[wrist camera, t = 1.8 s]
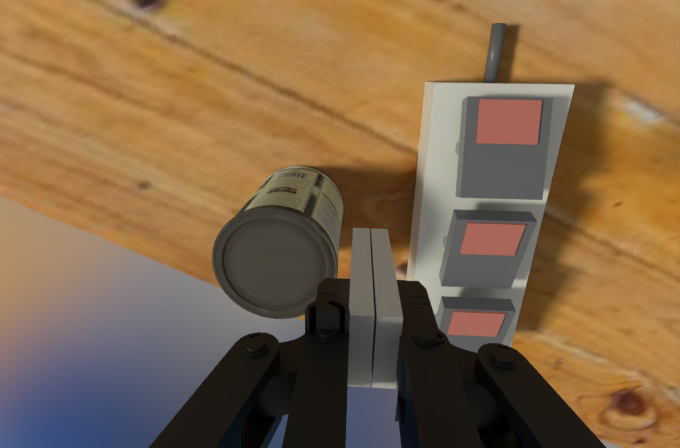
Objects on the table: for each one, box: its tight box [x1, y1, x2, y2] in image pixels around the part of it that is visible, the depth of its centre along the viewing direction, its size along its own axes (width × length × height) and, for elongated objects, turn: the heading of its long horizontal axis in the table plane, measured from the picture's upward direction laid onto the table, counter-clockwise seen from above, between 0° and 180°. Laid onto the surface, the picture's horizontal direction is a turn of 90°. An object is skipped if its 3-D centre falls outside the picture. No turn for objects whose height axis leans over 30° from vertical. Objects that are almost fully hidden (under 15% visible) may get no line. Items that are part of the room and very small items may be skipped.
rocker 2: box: [439, 209, 537, 289], centre depth 35 cm, size 8×7×2 cm
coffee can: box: [212, 166, 344, 319], centre depth 36 cm, size 10×10×14 cm
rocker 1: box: [455, 96, 553, 200], centre depth 32 cm, size 8×7×2 cm
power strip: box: [406, 23, 575, 347], centre depth 38 cm, size 35×12×6 cm, turn 179°
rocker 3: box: [436, 296, 516, 353], centre depth 39 cm, size 8×7×2 cm
